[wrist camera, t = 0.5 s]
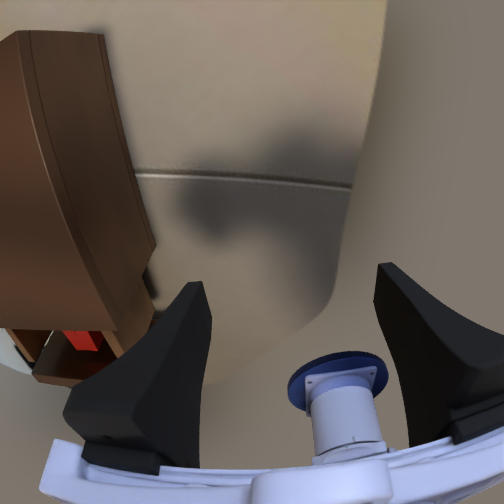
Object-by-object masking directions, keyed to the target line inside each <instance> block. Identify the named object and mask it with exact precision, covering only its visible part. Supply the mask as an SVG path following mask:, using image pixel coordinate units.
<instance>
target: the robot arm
mask: <svg viewBox="0 0 504 504" xmlns="http://www.w3.org/2000/svg"><path fill="white" fill-rule="evenodd" d="M373 303H374V307H375V311H376V314H377V318H378V322H379V325H380V327H381V330H382V332H383V335H384V337H385V340H386V342H387V345H388V348H389V350H390V353H391V355H392V358H393V361H394V363H395V367H396V370H397V373H398V377H399V382H400V386H401V390H402V396H403V401H404V406H405V413H406V419H407V427H408V436H409V448H408V449H405V450H401V451H398V450H396V449H394V448H393V447H390V448H388V449H387V448H386V443H385V441H383V440H382V435H381V430H380V426H379V421H378V418H377V413H376V408H375V405H374V400H373V396H372V392H371V391H372V387H373V383H374V380H375V376H376V372H377V368H376V366H370V367H364V368H358V369H351V370H345V371H338V372H330V373H322V374H314V375H308V376H306V377H305V395H306V416H307V417H311V418H312V428H313V438H314V448H315V457H312V465H311V466H306V467H294V468H282V469H260V470H259V469H258V470H217V469H200V466H199V465H200V463H199V425H200V403H201V390H202V383H203V378H204V372H205V367H206V362H207V357H208V352H209V346H210V341H211V330H212V315H211V312H210V308H209V305H208V301H207V298H206V294H205V291H204V287H203V283H202V281H198V282H188V283H187V284H186V285H185V286H184V288H183V289H182V290H181V291H180V293H179V294H178V295H177V297H176V298H175V299H174V301H173V302H172V303H171V305H170V306H169V307H168V308H167V310H166V311H165V312H164V313H163V315H162V316H161V317H160V318H159V319H158V321H157V322H156V323H155V324H154V325H153V326H152V327H151V329H150V330H149V331H148V332H147V333H146V334H145V335H144V336H143V337H142V338H141V339H140V340H139V341H138V342H137V343H136V344H135V345H133V346H132V347H131V348H130V349H129V350H128V351H126V352H125V353H124V354H123V355H121V356H120V357H119V358H118V359H116V360H115V361H114V362H112V363H111V364H110V365H108V366H107V367H105V368H104V369H102V370H101V371H99V372H98V373H96V374H94V375H93V376H91V377H89V378H87V379H85V380H83V381H82V382H80V383H78V384H76V385H74V386H73V388H72V390H71V393H70V395H69V398H68V400H67V403H66V405H65V408H64V410H63V417H64V419H65V421H66V422H67V423H68V425H69V426H70V427H71V428H72V429H74V430H75V431H76V432H77V433H78V434H79V435H80V436H81V437H82V438H83V439H84V440H86V441H85V445H84V447H82V446H80V445H78V444H75V443H72V442H68V441H64V440H60V439H54V442H53V445H52V448H51V451H50V454H49V457H48V459H47V463H46V466H45V469H44V472H43V475H42V479H41V482H40V485H39V490H40V491H41V492H43V493H45V494H46V495H48V496H50V497H52V498H54V499H56V500H57V501H59V502H61V503H63V504H455V503H457V502H460V501H462V500H464V499H467V498H469V497H471V496H473V495H475V494H478V493H480V492H482V491H484V490H486V489H488V488H490V487H492V486H494V485H496V484H498V483H499V482H501V481H503V480H504V335H502V334H499V333H497V332H494V331H492V330H489V329H487V328H485V327H483V326H480V325H478V324H477V323H474V322H473V321H471V320H469V319H467V318H465V317H463V316H462V315H460V314H458V313H457V312H455V311H454V310H452V309H450V308H449V307H447V306H446V305H444V304H443V303H441V302H440V301H439V300H437V299H436V298H435V297H433V296H432V295H431V294H429V293H428V292H427V291H426V290H425V289H423V288H422V287H421V286H420V285H418V284H417V283H416V282H415V281H414V280H412V279H411V278H410V277H409V276H408V275H406V274H405V273H404V272H403V271H402V270H401V269H399V268H398V267H397V266H396V265H395V264H393V263H392V262H389V263H382V264H378V269H377V278H376V285H375V293H374V300H373Z"/></svg>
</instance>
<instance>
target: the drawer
mask: <svg viewBox="0 0 504 504" xmlns="http://www.w3.org/2000/svg"><path fill="white" fill-rule="evenodd" d="M154 311H155V308H154V306H153V303H152V301H151V299H150V296H149V294H148V291H147V289H146V286H145V284H144V281H143V279H142V276H141V278H140V281H139V283H138V285H137V287H136V289H135V292H134V294H133V296H132V298H131V301H130V303H129V305H128V307H127V310H126V312H125V314H124V316H123V319H122V320H121V323H120V326H119V328H118V330H117V331H101V332H102V334H103V336H104V338H103V341H102V343H101V345H100V348H99V350H98V351H91V350H77V349H76V348H75V347H74V346H73V344H72V343H71V342H70V340H69V339H68V338H67V337H66V335H65V334H64V333H63V331H56V330H54V332H53V334H52V335H51V337H50V339H49V341H48V343H47V344H46V346H45V348H44V350H43V352H42V354H41V356H40V358H39V359H38V361H37V363H36V365H35V367H34V369H33V371H32V373H31V374H32V375H33V376H34V377H35V378H36V380H37V381H38V382H41V383H46V384H52V385H59V386H66V387H73V386H74V385H76V384H78V383H80V382H82V381H83V380H85V379H87V378H89V377H91V376H93V375H94V374H96V373H98V372H99V371H101V370H102V369H104V368H105V367H107V366H108V365H110V364H111V363H112V362H114V361H115V360H116V359H118V358H119V357H120V356H121V355H123V354H124V353H125V352H126V351H128V350H129V349H130V348H131V347H132V346H133V345H135V344H136V343H137V342H138V341H139V340H140V339H141V338H142V337H143V336H144V335H145V334H146V333H147V332H148V331H149V330H150V329H151V327H152V326H153V325H154V324H155V323H156V322H157V321H158V320H151V319H152V316H153V314H154ZM5 330H6V331H7V333H8V334H9V335H10V337H11V338H12V340H13V341H14V342H15V344H16V345H17V346H18V348H19V349H20V350H21V352H22V353H23V354H24V356H25V357H26V358H27V360H28V361H29V362H35V361H36V359H37V358H38V356H39V354H40V352H41V350H42V348H43V346H44V345H45V343H46V341H47V339H48V337H49V336H50V334H51V332H52V330H27V329H8V328H5Z"/></svg>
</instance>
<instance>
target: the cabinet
mask: <svg viewBox="0 0 504 504" xmlns="http://www.w3.org/2000/svg"><path fill="white" fill-rule="evenodd" d="M155 247H156V244H155V241H154V238H153V235H152V232H151V229H150V225H149V222H148V219H147V216H146V212H145V209H144V206H143V202H142V199H141V196H140V192H139V189H138V185H137V182H136V178H135V174H134V171H133V167H132V163H131V160H130V156H129V152H128V148H127V144H126V140H125V136H124V132H123V128H122V124H121V120H120V115H119V111H118V106H117V102H116V97H115V93H114V88H113V83H112V78H111V73H110V68H109V63H108V57H107V52H106V46H105V40H104V35H103V34H95V33H84V32H70V31H48V30H28V31H27V30H18V31H15V32H14V33H12V34H11V35H9V36H8V37H6V38H5V39H3V40H2V41H0V328H8V329H27V330H56V331H117V330H118V328H119V326H120V323H121V320H122V319H123V316H124V314H125V312H126V310H127V307H128V305H129V303H130V301H131V298H132V296H133V294H134V292H135V289H136V287H137V285H138V283H139V281H140V278H141V276H142V274H143V272H144V270H145V268H146V266H147V264H148V261H149V259H150V257H151V255H152V253H153V251H154V249H155Z"/></svg>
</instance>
